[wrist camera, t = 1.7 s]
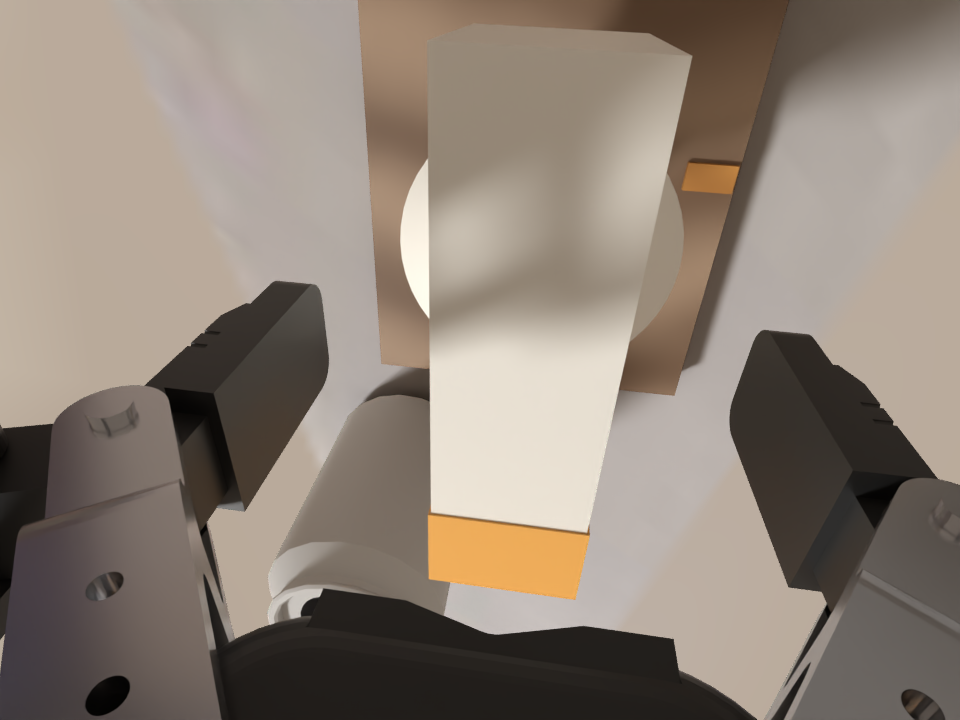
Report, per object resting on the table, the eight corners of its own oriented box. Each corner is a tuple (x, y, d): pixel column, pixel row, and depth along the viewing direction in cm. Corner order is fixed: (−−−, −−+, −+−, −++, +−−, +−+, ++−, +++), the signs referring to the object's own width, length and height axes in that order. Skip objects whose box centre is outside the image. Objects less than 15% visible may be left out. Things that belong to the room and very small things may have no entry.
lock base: (360, -190, 18) (248, -288, 12) (824, -179, 17) (979, -281, 10) (389, 347, 29) (340, 446, 23) (669, 377, 28) (699, 490, 21)
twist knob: (417, 9, 14) (259, 29, 7) (712, 26, 13) (884, 67, 6) (423, 354, 19) (339, 566, 12) (631, 376, 19) (670, 613, 12)
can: (357, 367, 30) (252, 557, 20) (493, 408, 30) (456, 615, 20) (339, 464, 34) (245, 661, 24) (458, 500, 34) (414, 708, 24)
